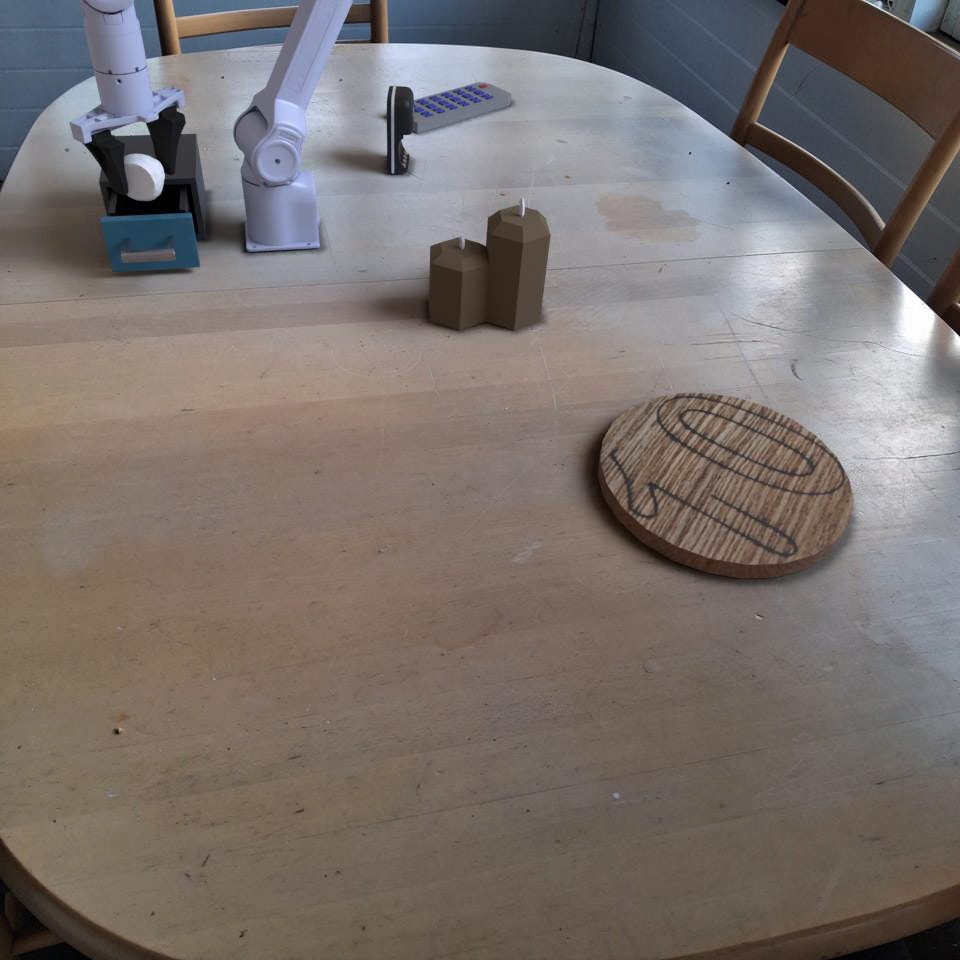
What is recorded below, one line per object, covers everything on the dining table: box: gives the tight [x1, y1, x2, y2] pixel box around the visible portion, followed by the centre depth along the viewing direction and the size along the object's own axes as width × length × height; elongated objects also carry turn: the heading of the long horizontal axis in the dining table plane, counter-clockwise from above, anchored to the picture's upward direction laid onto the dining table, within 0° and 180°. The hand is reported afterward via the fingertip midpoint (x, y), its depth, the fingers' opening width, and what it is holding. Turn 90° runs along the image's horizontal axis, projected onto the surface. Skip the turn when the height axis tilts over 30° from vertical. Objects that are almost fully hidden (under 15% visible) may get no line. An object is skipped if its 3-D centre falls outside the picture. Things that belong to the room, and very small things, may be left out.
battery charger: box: [386, 84, 415, 175], centre depth 136 cm, size 7×4×11 cm, turn 0°
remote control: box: [412, 81, 512, 134], centre depth 156 cm, size 8×23×2 cm, turn 132°
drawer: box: [99, 184, 201, 273], centre depth 113 cm, size 17×10×7 cm, turn 12°
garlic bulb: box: [124, 154, 165, 201], centre depth 109 cm, size 6×6×5 cm
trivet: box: [597, 392, 855, 580], centre depth 91 cm, size 25×25×2 cm
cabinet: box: [98, 133, 207, 241], centre depth 121 cm, size 14×12×9 cm
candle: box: [428, 197, 552, 331], centre depth 107 cm, size 14×14×15 cm
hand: (144, 182), depth 109 cm, fingers closed on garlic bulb, 6 cm apart
